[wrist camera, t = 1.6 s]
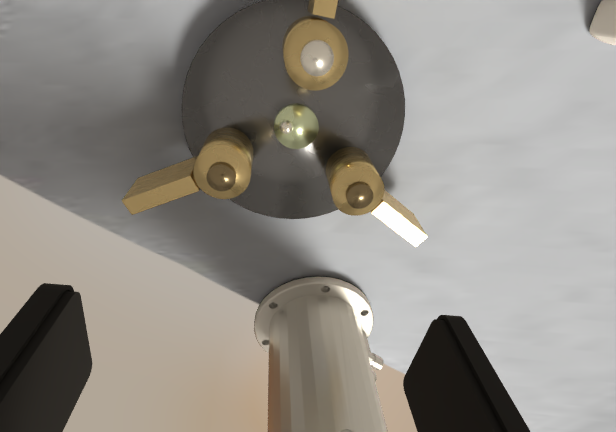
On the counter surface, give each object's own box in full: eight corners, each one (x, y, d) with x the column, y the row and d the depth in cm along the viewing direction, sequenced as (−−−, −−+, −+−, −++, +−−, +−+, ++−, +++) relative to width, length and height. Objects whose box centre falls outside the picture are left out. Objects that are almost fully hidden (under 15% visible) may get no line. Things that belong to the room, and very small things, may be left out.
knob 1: (241, 120, 26) (235, 143, 22) (261, 164, 28) (258, 192, 24) (130, 161, 27) (105, 191, 23) (156, 201, 29) (138, 235, 25)
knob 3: (315, 172, 28) (322, 201, 24) (348, 137, 27) (360, 162, 23) (391, 229, 32) (407, 263, 28) (422, 201, 30) (444, 232, 27)
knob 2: (331, 81, 25) (341, 98, 21) (278, 71, 24) (279, 86, 20) (365, -82, 20) (387, -98, 16) (302, -99, 20) (309, -120, 16)
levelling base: (441, 105, 28) (454, 114, 26) (306, 239, 34) (308, 256, 32) (277, -68, 22) (278, -74, 20) (145, 133, 27) (134, 145, 25)
